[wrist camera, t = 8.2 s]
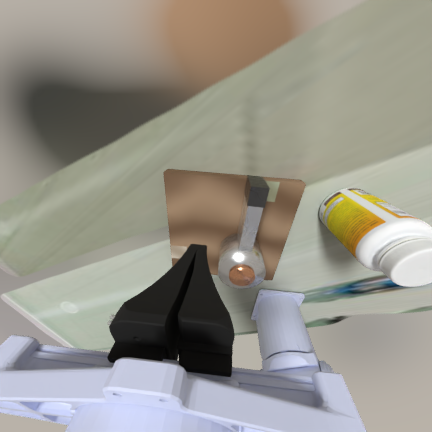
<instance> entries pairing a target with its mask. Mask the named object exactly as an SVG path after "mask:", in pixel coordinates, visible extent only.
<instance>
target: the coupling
mask: <svg viewBox="0 0 432 432" xmlns="http://www.w3.org/2000/svg"><path fill="white" fill-rule="evenodd" d="M269 190H270V188H269V186H268V184H267V183H266V181H265V179H264V178H263V177H258V176H249V175H247V180H246V186H245V191H244V194H245V196H244V201H243V207H242V212H241V217H240V222H239V227H238V233H237V234H232V235H230V236H228V237H226V238H225V239H224V240H223V241H222V243H221V245H220V253H219V266H218V275H219V278H220V279H221V281H222V282H223V283H225V284H226V285H228V286H230V287H233V288H239V289H245V288H251V287H254V286H256V285H258V284H259V283H261V282H262V281H263V279H264V278H265V275H266V269H265V265H264V261H263V257H262V253H261V249H260V245H259V243H258V241H257V240H256V239H255V238H256V234H257V230H258V226H259V223H260V219H261V215H262V211H263V208H265V205H266V201H267V197H268V193H269Z"/></svg>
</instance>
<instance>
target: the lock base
mask: <svg viewBox="0 0 432 432" xmlns="http://www.w3.org/2000/svg"><path fill="white" fill-rule="evenodd" d="M263 178H264V179H265V181H266V183H267V184H268V186H269V188H270V190H269V193H268V197H267V201H266V205H265V208H263V211H262V215H261V219H260V223H259V226H258V230H257V234H256V238H255V239H256V240H257V241H258V243H259V245H260V249H261V253H262V257H263V261H264V265H265V269H266V275H265V278H264V279H263V280H272V279H273V277H274V274H275V271H276V268H277V265H278V262H279V259H280V257H281V254H282V251H283V248H284V245H285V242H286V240H287V237H288V234H289V231H290V228H291V225H292V223H293V220H294V217H295V214H296V211H297V208H298V205H299V203H300V200H301V197H302V194H303V191H304V188H305V186H306V184H305V183H304V182H303V181H301V180H294V179H282V178H270V177H263ZM246 180H247V176H246V175H234V174H222V173H210V172H198V171H186V170H174V169H167V170H166V171H165V172H164V182H165V193H166V203H167V213H168V224H169V233H170V244H171V245H170V247H171V257H172V265H173V266H174V265H175V264H176V262H177V261H178V260H179V259H180V258H181V257H182V255H183V254H184V253H185V252H186V250H187V249H188V247H189V246H190V244H200V245H206V246H207V260H208V265H209V269H210V273H211V274H213V275H218V266H219V253H220V245H221V243H222V241H223V240H224V239H225V238H226V237H228V236H230V235H232V234H237V233H238V227H239V222H240V217H241V212H242V207H243V201H244V196H245V194H244V191H245V186H246Z"/></svg>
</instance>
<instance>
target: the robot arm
mask: <svg viewBox="0 0 432 432" xmlns="http://www.w3.org/2000/svg"><path fill="white" fill-rule="evenodd" d="M304 297H305V295H304V294H303V293H294V292H284V291H275V290H265V289H261V290H259V293H258V296H257V299H256V303H255V306H254V309H253V312H252V316H251V319H252V320H256V323H257V331H258V338H259V346H260V353H261V356H262V359H263V361H262V366H263V369H261V370H260V371H259V370H251V369H242V368H234V367H232V345H233V341H234V329H233V324H232V321H231V318H230V314H229V312H228V311H227V309H226V307H225V305H224V304H223V302H222V300H221V298H220V296H219V294H218V291H217V289H216V287H215V284H214V282H213V279H212V276H211V273H210V269H209V265H208V260H207V246H206V245H200V244H190V246H189V247H188V249H187V250H186V252H185V253H184V254H183V255H182V257H181V258H180V259H179V260H178V261H177V262H176V264H175V265H174V266H173V267H172V268H171V269H170V270H169V271H168V272H167V273H166V274H165V275H163V276H162V277H161V278H160V279H159V280H158V281H156V282H155V283H154V284H152V285H151V286H150V287H148V288H147V289H145V290H144V291H143V292H141V293H140V294H138V295H136V296H135V297H133V298H131V299H130V300H128V301H126V302H124V304H123V305H122V307H121V308H120V309H119V311H118V312H117V314H116V315H115V317H114V319H113V320H112V322H111V324H110V326H109V329H110V332H111V334H112V336H113V338H114V340H115V343H114V345H113V347H112V349H111V351H110V353H109V352H101V351H93V350H84V349H76V348H68V347H59V346H50V345H43V344H39V342H38V341H37V340H36V339H35V338H33V337H29V336H20V335H11V336H10V337H9V338H8V339H7V340H6V341H5V342H4V343H3V344H2V345H1V346H0V413H6V414H11V415H18V416H23V417H28V418H34V419H39V420H44V421H49V422H54V423H59V424H65V425H68V427H67V429H66V431H65V432H367V431H366V429H365V427H364V424H363V422H362V420H361V417H360V415H359V413H358V411H357V408H356V406H355V404H354V401H353V399H352V397H351V395H350V393H349V390H348V388H347V386H346V383H345V381H344V379H343V377H342V375H341V374H340V373H334V371H333V370H332V368H331V366H330V365H328V364H327V363H326V362H325V361H319V360H318V358H317V356H316V353H315V350H314V348H313V345H312V342H311V340H310V337H309V334H308V332H307V329H306V326H305V323H304V321H303V318H302V315H301V313H300V310H299V307H300V305H301V303H302V301H303V299H304ZM178 354H179V361H177V359H178Z"/></svg>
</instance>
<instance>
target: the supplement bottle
mask: <svg viewBox="0 0 432 432" xmlns="http://www.w3.org/2000/svg"><path fill="white" fill-rule="evenodd" d="M319 216H320V219H321V221H322V222H323V223H324V225H325V226H326V227H327V228H328V229H329V230H330V231H331V232H332V233H333V234H334V235H335V236H336V237H337V238H338V240H339V241H340V242H341V243H342V244H343V245H344V246H345V247H346V248H347V249H348V250H349V251H350V252H351V253H352V254H353V256H354V257H355V258H356V259H357V260H358V261H359V262H360V263H361V264H362V265H363V266H365V267H367V268H369V269H371V270H375V271H381V272H383V273H384V274H385V275H387V276H388V277H389V278H390V279H391V280H392V281H393V282H394V283H396V284H398V285H401V286H407V287H413V286H421V285H425V284H429V283H432V227H431V226H430V225H429V224H427V223H426V222H424V221H422V220H420V219H418V218H416V217H414V216H412V215H410V214H408V213H406V212H404V211H402V210H400V209H398V208H397V207H395V206H393V205H391V204H389V203H387V202H385V201H383V200H381V199H379V198H377V197H375V196H373V195H371V194H369V193H367V192H365V191H363V190H361V189H357V188H345V189H341V190H338V191H336V192H334V193H332V194H331V195H329V196H328V197H327V198H326V199H325V200H324V202H323V203H322V205H321V207H320V211H319Z"/></svg>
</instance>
